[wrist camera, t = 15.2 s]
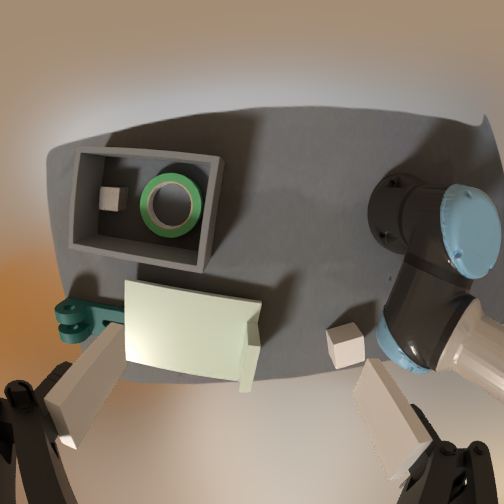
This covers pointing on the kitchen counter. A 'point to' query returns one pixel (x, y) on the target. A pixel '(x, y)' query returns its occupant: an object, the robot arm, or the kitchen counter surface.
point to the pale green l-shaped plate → (192, 331)
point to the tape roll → (148, 211)
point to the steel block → (113, 198)
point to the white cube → (345, 345)
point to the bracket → (85, 319)
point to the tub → (89, 240)
